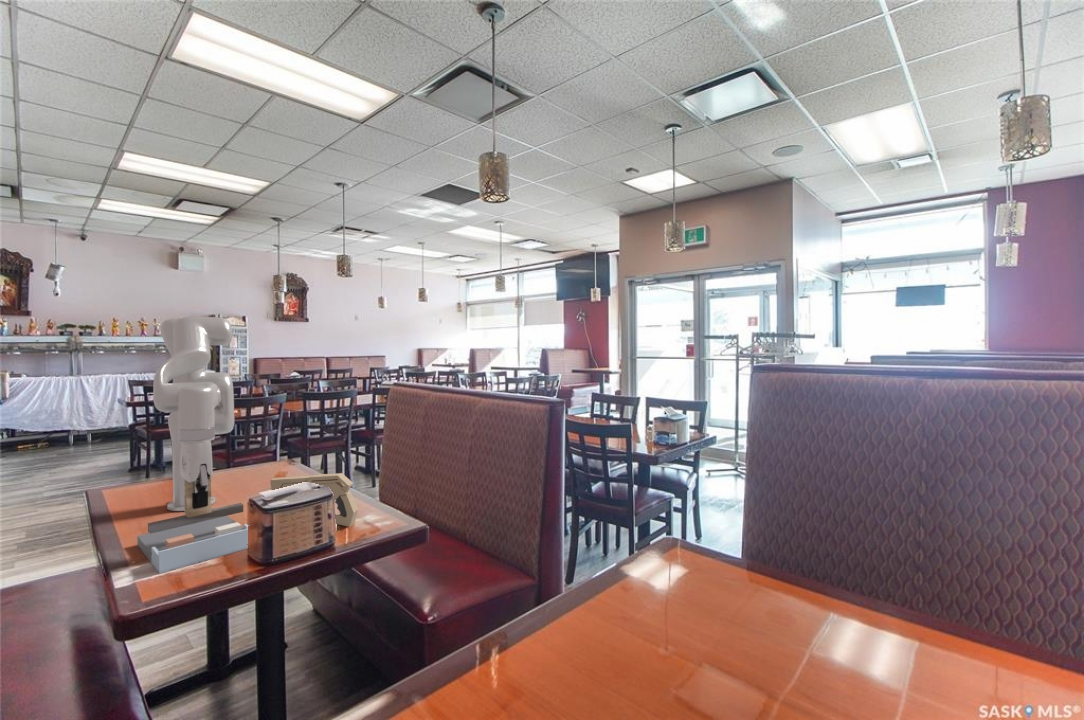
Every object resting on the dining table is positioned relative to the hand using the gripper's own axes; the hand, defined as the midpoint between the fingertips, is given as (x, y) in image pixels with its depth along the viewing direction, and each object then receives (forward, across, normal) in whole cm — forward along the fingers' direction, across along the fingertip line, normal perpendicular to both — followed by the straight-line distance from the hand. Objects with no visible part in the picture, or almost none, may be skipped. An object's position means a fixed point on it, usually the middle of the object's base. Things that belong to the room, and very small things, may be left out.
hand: (198, 504), depth 124 cm
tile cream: (+8, +5, +5) cm, 10 cm away
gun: (+11, +6, +27) cm, 30 cm away
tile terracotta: (+8, +5, -5) cm, 11 cm away
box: (+11, +7, 0) cm, 13 cm away
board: (+11, -5, 0) cm, 12 cm away
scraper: (+4, 0, 0) cm, 4 cm away
